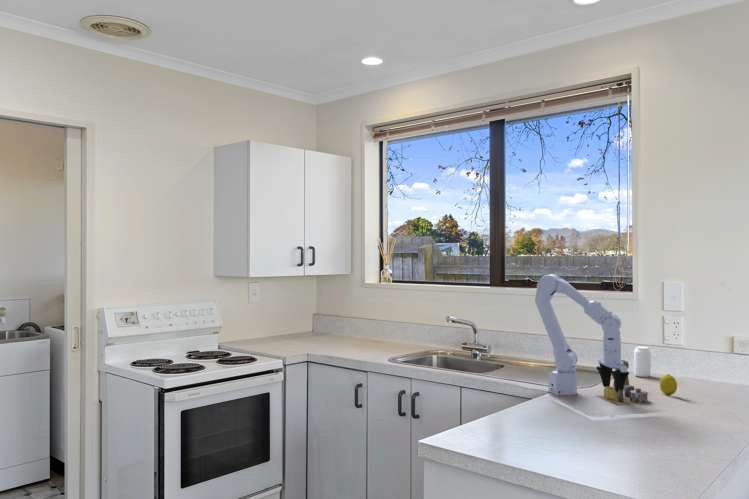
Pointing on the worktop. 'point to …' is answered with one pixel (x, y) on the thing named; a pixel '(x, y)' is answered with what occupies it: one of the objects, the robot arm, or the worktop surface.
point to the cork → (627, 376)
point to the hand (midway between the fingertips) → (612, 389)
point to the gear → (610, 393)
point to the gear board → (625, 400)
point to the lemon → (668, 385)
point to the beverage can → (642, 361)
